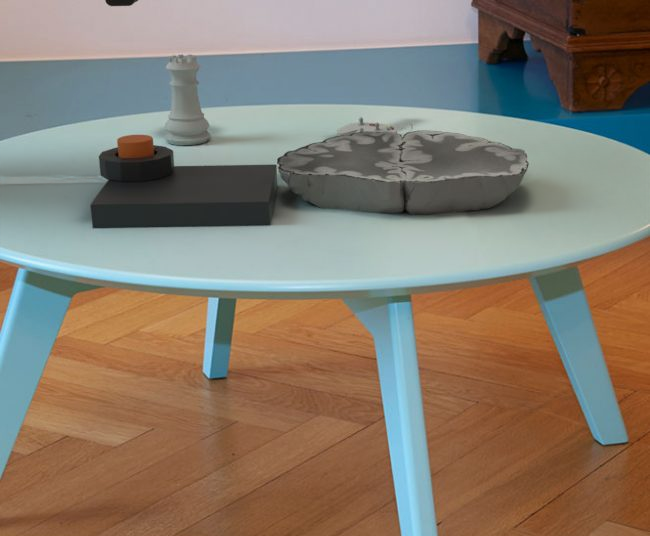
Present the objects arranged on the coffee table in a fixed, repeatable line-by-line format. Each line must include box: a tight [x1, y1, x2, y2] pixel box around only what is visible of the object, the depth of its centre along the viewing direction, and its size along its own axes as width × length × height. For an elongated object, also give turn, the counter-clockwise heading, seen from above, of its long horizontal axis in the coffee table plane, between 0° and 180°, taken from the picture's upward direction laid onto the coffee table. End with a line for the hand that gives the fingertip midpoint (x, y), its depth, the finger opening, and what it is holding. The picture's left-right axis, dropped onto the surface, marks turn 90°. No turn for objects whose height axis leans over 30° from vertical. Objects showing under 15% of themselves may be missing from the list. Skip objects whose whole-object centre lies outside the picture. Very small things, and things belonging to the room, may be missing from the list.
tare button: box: [116, 134, 154, 158], centre depth 90 cm, size 3×3×2 cm
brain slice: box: [276, 129, 530, 215], centre depth 91 cm, size 20×17×3 cm
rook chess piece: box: [163, 54, 212, 146], centre depth 108 cm, size 4×4×8 cm
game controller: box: [335, 116, 413, 136], centre depth 107 cm, size 6×12×3 cm, turn 166°
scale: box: [89, 144, 278, 229], centre depth 88 cm, size 14×12×4 cm
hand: (123, 2), depth 86 cm, fingers closed
